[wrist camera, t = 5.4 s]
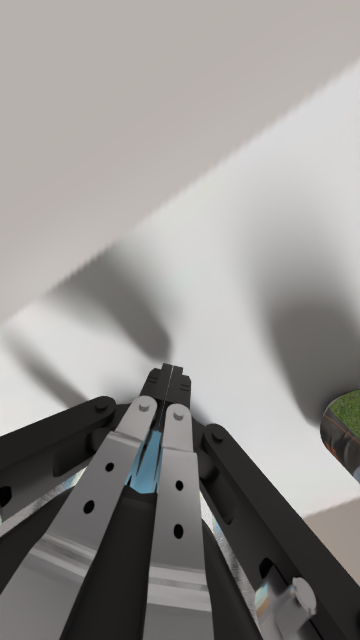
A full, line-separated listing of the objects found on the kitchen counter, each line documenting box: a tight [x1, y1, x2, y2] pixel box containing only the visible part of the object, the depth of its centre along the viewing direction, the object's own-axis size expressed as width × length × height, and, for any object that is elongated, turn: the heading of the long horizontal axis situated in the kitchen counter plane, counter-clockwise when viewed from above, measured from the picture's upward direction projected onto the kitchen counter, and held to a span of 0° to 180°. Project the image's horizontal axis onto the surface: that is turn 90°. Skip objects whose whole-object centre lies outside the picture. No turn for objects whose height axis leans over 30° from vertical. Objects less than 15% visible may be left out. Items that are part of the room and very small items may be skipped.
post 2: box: [212, 514, 262, 635], centre depth 12 cm, size 3×3×9 cm
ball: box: [134, 430, 161, 493], centre depth 14 cm, size 6×6×6 cm
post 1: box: [0, 469, 83, 537], centre depth 12 cm, size 3×3×9 cm
